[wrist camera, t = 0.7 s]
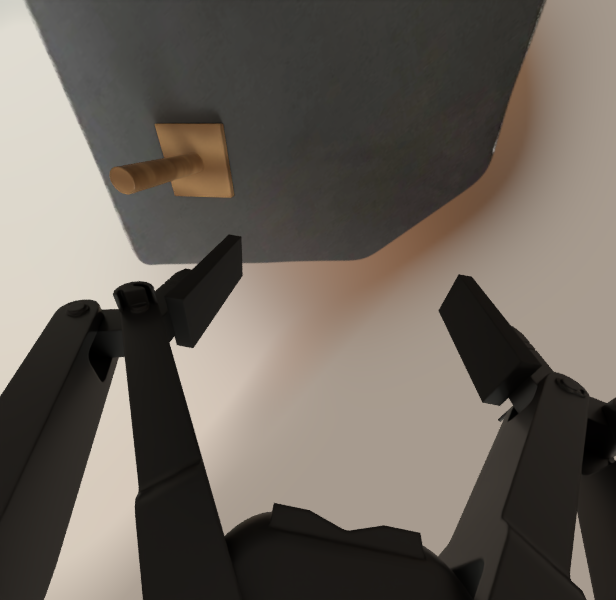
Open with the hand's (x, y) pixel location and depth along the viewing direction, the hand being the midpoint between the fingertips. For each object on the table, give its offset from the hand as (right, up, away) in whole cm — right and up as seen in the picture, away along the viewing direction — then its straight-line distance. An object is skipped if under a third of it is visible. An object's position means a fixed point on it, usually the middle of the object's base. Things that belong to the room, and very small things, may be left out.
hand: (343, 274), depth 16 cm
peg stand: (-18, +18, +21) cm, 33 cm away
